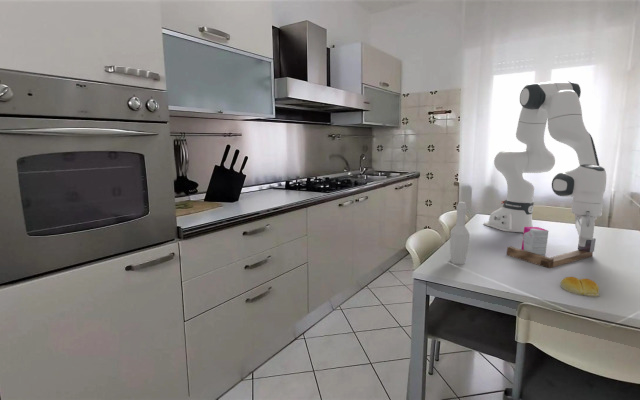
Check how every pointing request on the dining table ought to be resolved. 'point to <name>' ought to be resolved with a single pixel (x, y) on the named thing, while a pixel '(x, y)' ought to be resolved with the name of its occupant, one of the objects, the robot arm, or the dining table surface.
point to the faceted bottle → (459, 236)
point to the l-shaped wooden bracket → (556, 260)
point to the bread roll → (580, 286)
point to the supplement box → (535, 240)
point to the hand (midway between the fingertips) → (581, 245)
